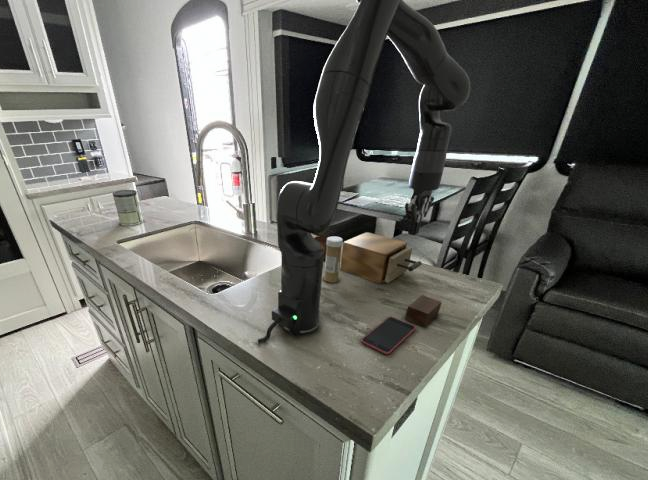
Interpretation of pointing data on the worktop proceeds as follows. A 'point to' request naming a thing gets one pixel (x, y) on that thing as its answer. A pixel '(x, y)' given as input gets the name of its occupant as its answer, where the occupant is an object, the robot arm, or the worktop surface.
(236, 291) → the worktop surface
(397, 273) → the drawer
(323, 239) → the cup and saucer
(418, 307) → the block
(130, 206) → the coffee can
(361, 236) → the cabinet
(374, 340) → the smartphone
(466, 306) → the worktop surface
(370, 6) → the robot arm
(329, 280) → the sprinkles bottle
